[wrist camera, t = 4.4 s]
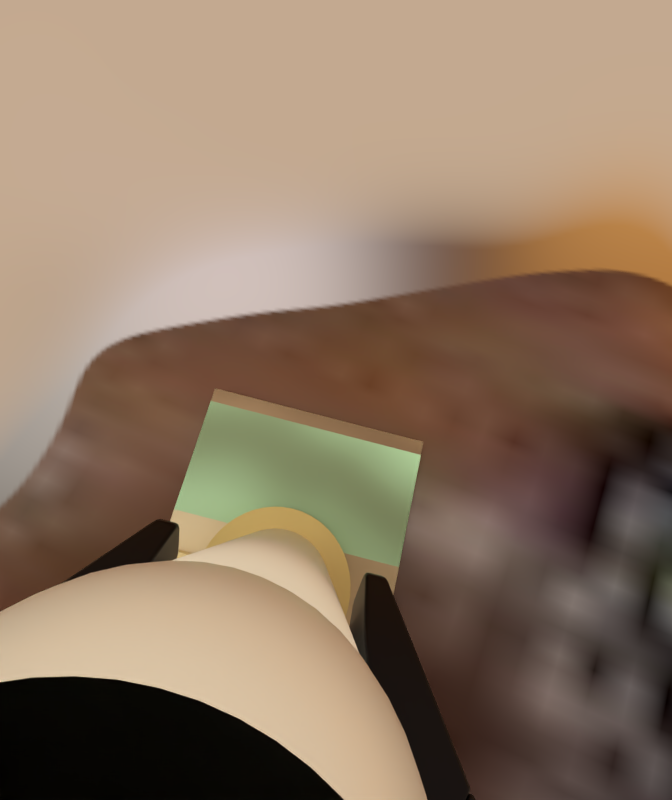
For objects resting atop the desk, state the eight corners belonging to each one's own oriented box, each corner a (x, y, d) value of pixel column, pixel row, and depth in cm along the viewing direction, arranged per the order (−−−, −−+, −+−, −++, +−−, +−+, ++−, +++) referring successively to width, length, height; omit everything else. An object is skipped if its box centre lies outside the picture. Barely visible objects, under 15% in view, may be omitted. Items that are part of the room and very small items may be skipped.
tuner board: (295, 1053, 12) (294, 1098, 11) (24, 982, 12) (0, 1022, 11) (416, 446, 17) (423, 442, 16) (220, 395, 17) (215, 388, 16)
